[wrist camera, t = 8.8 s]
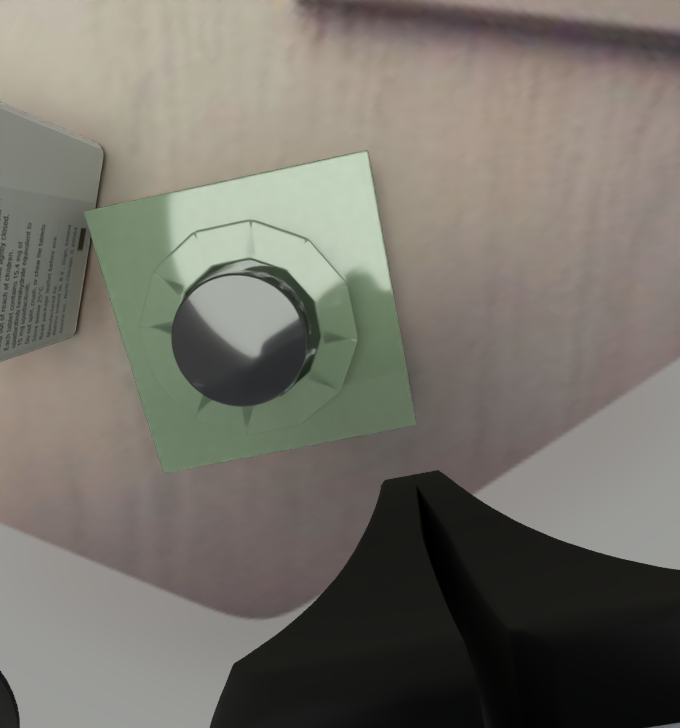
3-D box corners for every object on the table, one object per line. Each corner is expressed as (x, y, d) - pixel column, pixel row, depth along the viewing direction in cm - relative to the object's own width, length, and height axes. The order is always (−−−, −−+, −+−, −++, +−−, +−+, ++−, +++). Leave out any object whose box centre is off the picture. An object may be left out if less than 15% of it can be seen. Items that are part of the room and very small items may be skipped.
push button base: (408, 405, 22) (425, 446, 17) (182, 448, 22) (143, 499, 18) (364, 161, 19) (371, 137, 15) (114, 215, 20) (49, 206, 15)
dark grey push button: (322, 376, 17) (319, 393, 15) (207, 399, 17) (190, 419, 15) (296, 258, 16) (290, 260, 14) (176, 283, 16) (153, 288, 14)
